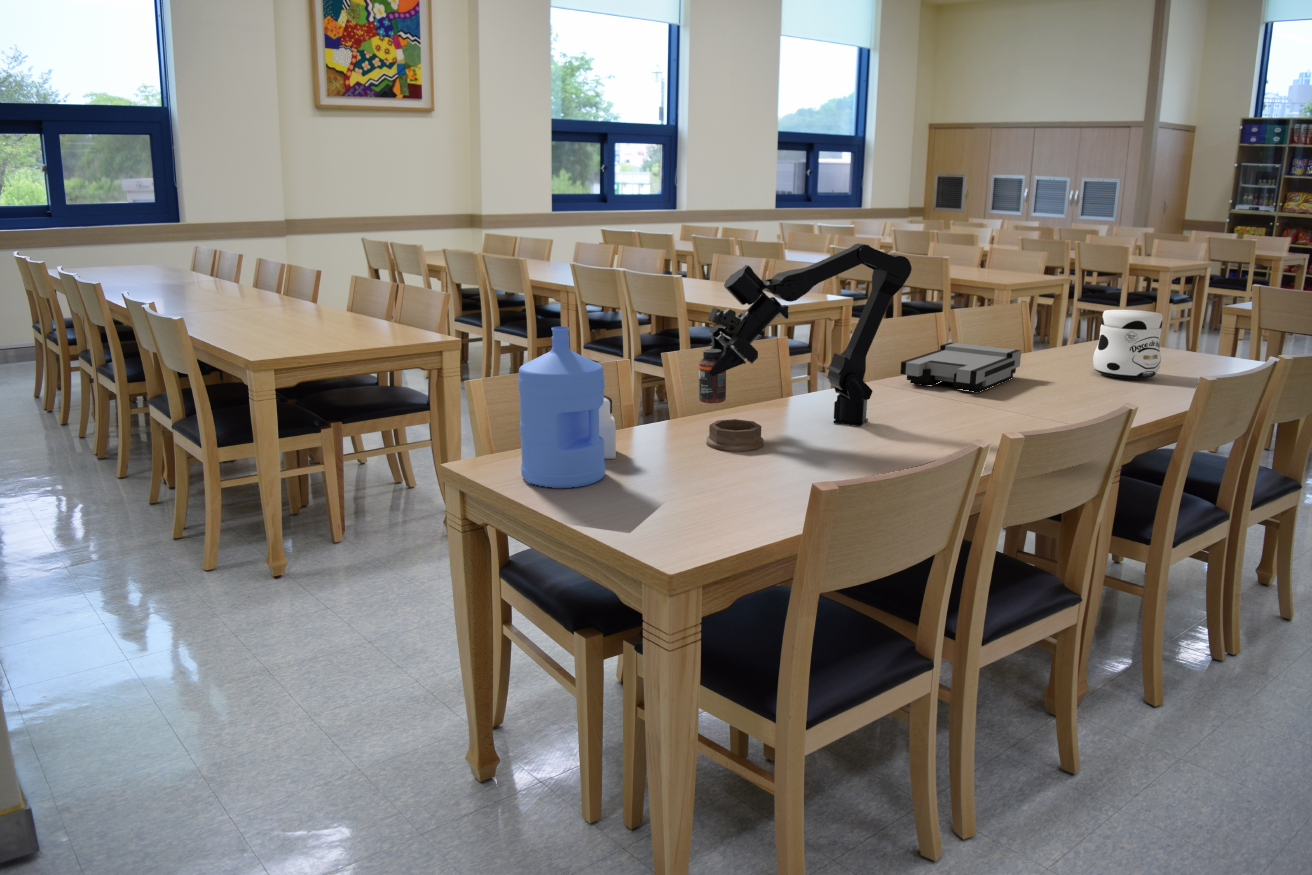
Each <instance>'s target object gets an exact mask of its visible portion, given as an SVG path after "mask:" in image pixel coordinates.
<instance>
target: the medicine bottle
mask: <svg viewBox="0 0 1312 875" xmlns="http://www.w3.org/2000/svg"><path fill="white" fill-rule="evenodd" d="M616 427H617V426H616V421H615V417H614V416H613V400H612V398H611V397H609V396H607V395H604V403H603V405H602V406H601V407H600V408H599V435H600V436H601V437H603V439H604V460H615V459H616V458H617V457H616V456H617V454H616V453H617V451H616V450H617V443H616V442H617V440H616V437H617V436H616V430H617V429H616Z"/></svg>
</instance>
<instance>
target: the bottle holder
mask: <svg viewBox="0 0 1312 875" xmlns="http://www.w3.org/2000/svg"><path fill="white" fill-rule="evenodd" d="M708 432H709V433H708V436H707V437H706V446H708V447H709V448H711V449H715V450H718V451H723V452H734V453H735V452H737V453H738V452H739V453H740V452H741V453H742V452H751V451H756V450H759V449H761V448H763V447H764V443H765V442H764V441H765V440H764V438H763V437H762V425H760V424H759V423H757V422H755V421H754V420H747V419H746V420H744V419H737V418H734V419H733V418H732V419H722V420H721V419H719V420H716V421H713V422H712V423H710V424H709V431H708Z"/></svg>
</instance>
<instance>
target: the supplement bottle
mask: <svg viewBox="0 0 1312 875" xmlns="http://www.w3.org/2000/svg"><path fill="white" fill-rule="evenodd" d="M702 354H703V355H702V356H703V358H702V359H701V360H700V361H699V363H698V399H699V401H700V402H701V403H705V404H721V403H723V402H725V401H726V399H727V398H726V397H727V370H726V371H724V372H722V373H719V374H717V375H715V376H711V375H710V374H709V372H710V370H711V369H712V367H713V366H714V365H715V363H716V362H717V360H718V359H719V358H720V356H721V355H722V351H721V350H719V349H711V348H707V349H704V350H703V353H702Z"/></svg>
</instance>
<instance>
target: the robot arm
mask: <svg viewBox="0 0 1312 875" xmlns="http://www.w3.org/2000/svg"><path fill="white" fill-rule="evenodd" d="M859 265H863V266H865V267H867V268H869V269H871V270H873V271H872V274H871V290H870V293H869V296H868V298H867V300H866V302H865V305H864V307H863V309H862V312H861V314H860V317H859V319H858V321H857V323H856V326H855V328H854V330H853V332H852V334H851V337H850V339H849V342H848V343H847V346H846V348H845V349H844V350H843V352H841V353H838V352H834V353H833V354H832V359H831V362H830V364H829V365H828V367H827V368H826V369H827V370H828V373H827V378H828V379H827V380H828V381H829V383H830V384H831V386H832V387H833V389H834V393H836V394H838V395H837V396H836V397H837V398H836V400H835V401H834V403H833V405H834V408H833V422H832V423H833V424H837V425H845V426H854V427H862V426H864V425H865V424H866V423H867V422H868V421H869V418H867V410H868V409H867V408H868V401H869V400H870V399H871V396H872V394H873V389H871V387H870V386H869V385H868V384H867V383H866V382H865V381H864V380H865V375H866V370H867V368H866V367H867V355H868V352H869V350H870V348H871V345H872V344H873V342H874V340H875V337H876V334H877V332H878V329H879V327H880V325H881V324H882V320H883V318H884V317H885V314H886V313H887V312H886V311H887V309H888V307H889V305H890V303H891V300H892V298H893V297H894V296H895V295H896V294H897V293H898V292H899V291H900V290H901V289H902V288H903V287H904V286H905V283H906V282H907V280H908V279H909V277H910V275H911V274H912V269H913V267H912V264H911V261H910V260H909V259H908V258H907V257H906V256H904V255H898V254H893V253H886V252H884V251H881V250H879V249H876V248H874V247H872V246H870V245H869V244H865V243H864V244H863V243H855V244H853V245H852V246H850V247H848V248H846V249H844V250H842V251H839V252H837V253H835V254H832V255H831V256H828V257H825V258H823V259H821V260H820V261H817V262H815V263H813V264H811V265H809V266H805V267H801V268H795V269H790V270H785V271H782V272H778V273H776V274H774V276H773V277H771V278H768V279H763V280H762V279H761V278H760V277H759V276H758V275H757V274H756V273H755V271H754V269H753V268H752V266H750V265H747V264H745V265H744V266H742V268H740V269H738V270H737V271H735V272H734V273H732V274H730V275H729V277H728V278H727V279H726V280H725V281H724V282H725V283H724V285H723V286H724V289H725V290H727V292H729V294H731V296H732V297H733V298H734V299H735V300H736V301H737V302H738V303H739V304H740V305H741V306H744V305H746V304H747V305H748V308H747V309H746V310H745V311H744V312H743V313H742V312H738V313H736V311H735V310H732V309H730V308H728V307H727V308H725V310H721V309H719V308H718V307H714V306H712V308H711V311H710V313H709V316H708V318H707V321H709V322H710V323H713V324H716V325H714V326H713V327H712V328H711V329H710V330H709V331H708V332H709V333H710V339H711V347H710V349H719V350H721V351H722V355H721V356H720V358H719V359H718V360H717V362H716V363H715V365H714V366H713V367H712V369H711V370H710V372H709V374H710V375H711V376H715V375H717V374H719V373H722V372H724V371H726V372H727V371H728V370H731V369H734V368H736V367H738V366H741V365H745V364H746V363H747V362H748V363H749V364H752V365H753V364H754V362H755V361H756V360H758V358H759V351H758V350H757V348H755V347H754V346H753V345H752V343H753V342H754V341H755V340H756V339H757V338H758V337H763V336H764V335H765V332H764V331H765V330H766V329H767V327H769V325H770V324H771V323H773V321H774V320H775V319H776V318H777V317H778V316H779V317H781V318H783V319H786V320H788V319H789V318H790V316H789V308H790V306H788V305H786V304H783V305H782V304H781V302H779V301H778V300H777V299H779V300H782V301H785V302H795V301H797V300H799V299H801V298H802V297H803V296H805V295H807V294H808V293H809V292H810V291H811V290H812V289H813V288H814V287H815V286H816V285H818V284H820V283H822V282H824V281H826V280H829V279H830V278H833V277H835V276H838V275H840V274H843V273H844V272H847V271H849V270H851V269H853V268H855V267H857V266H859ZM765 292H766V293H769V294H772V296H771V297H769V296H768V294H766V293H765ZM746 361H747V362H746Z"/></svg>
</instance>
